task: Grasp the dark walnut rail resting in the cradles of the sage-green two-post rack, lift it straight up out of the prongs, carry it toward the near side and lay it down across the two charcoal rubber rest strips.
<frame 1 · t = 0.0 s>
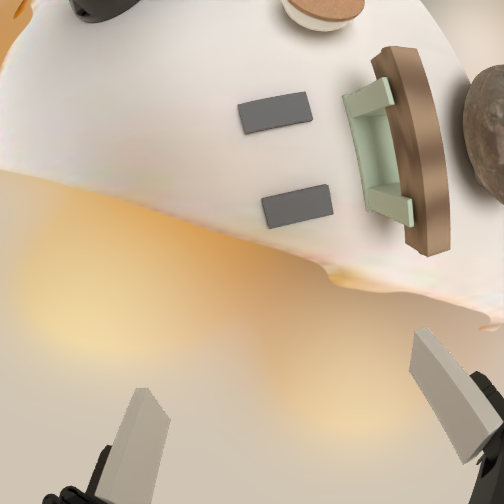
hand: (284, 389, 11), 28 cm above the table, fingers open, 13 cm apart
rests: (286, 158, 35), on the table
rail: (406, 149, 25), point 9 cm above the table, touching rack
rack: (374, 150, 34), on the table
lidded jar: (312, 15, 27), on the table
bowl: (481, 135, 32), on the table
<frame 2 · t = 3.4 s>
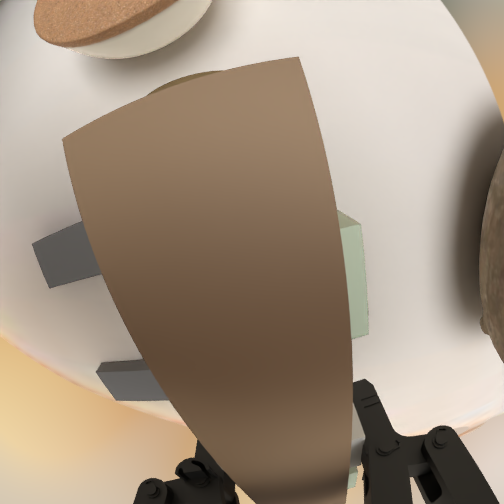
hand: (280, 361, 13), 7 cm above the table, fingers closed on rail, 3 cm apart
rests: (115, 319, 20), on the table
rail: (285, 394, 11), point 9 cm above the table, touching gripper, rack
rack: (272, 301, 20), on the table
lidded jar: (155, 17, 13), on the table
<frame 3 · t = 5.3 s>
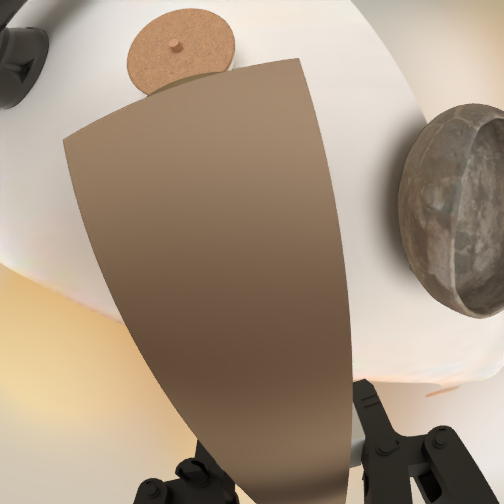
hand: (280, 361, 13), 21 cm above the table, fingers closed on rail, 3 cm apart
rail: (285, 394, 11), point 23 cm above the table, touching gripper
lidded jar: (193, 72, 27), on the table
bowl: (438, 196, 31), on the table
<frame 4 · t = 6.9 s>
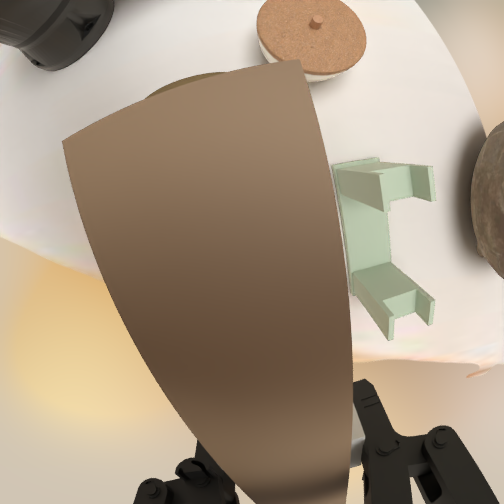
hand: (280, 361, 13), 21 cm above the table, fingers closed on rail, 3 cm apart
rail: (285, 395, 11), point 23 cm above the table, touching gripper
rack: (365, 228, 32), on the table
lidded jar: (300, 53, 25), on the table
bowl: (490, 191, 30), on the table
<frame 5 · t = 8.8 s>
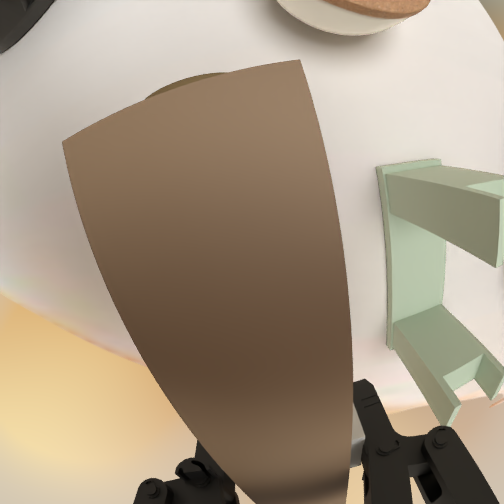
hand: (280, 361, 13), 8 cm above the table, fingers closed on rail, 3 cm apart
rail: (285, 395, 11), point 11 cm above the table, touching gripper
rack: (415, 260, 21), on the table
lidded jar: (324, 3, 14), on the table
when the fingers open (1 cm above the table, at t = 10.4 s): rail drops 2 cm, resting on rests.
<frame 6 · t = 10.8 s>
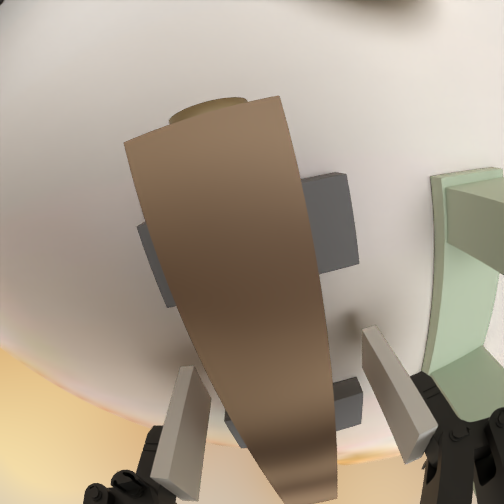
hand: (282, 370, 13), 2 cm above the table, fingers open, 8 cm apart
rests: (278, 345, 15), on the table
rail: (280, 362, 13), point 1 cm above the table, touching rests
rack: (462, 298, 14), on the table
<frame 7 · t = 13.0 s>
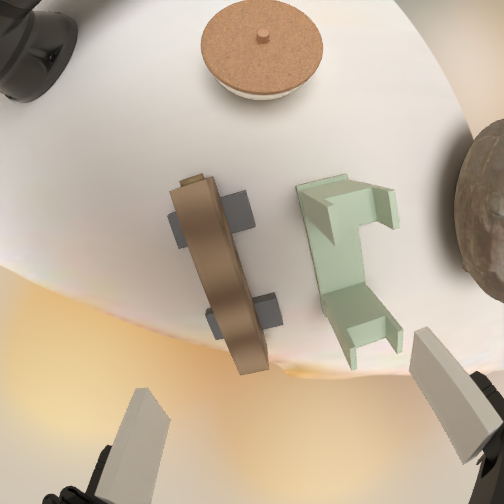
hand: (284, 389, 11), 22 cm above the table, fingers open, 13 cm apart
rests: (229, 269, 33), on the table
rail: (228, 274, 31), point 1 cm above the table, touching rests
rack: (335, 248, 32), on the table
lidded jar: (259, 68, 25), on the table
bowl: (478, 198, 30), on the table
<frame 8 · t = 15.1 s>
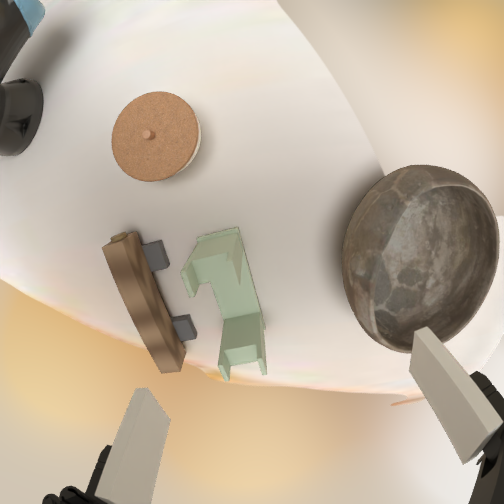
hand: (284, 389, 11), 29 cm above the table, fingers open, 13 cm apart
rests: (154, 295, 42), on the table
rail: (151, 300, 40), point 1 cm above the table, touching rests
rack: (233, 284, 41), on the table
lidded jar: (170, 140, 34), on the table
bowl: (391, 239, 39), on the table
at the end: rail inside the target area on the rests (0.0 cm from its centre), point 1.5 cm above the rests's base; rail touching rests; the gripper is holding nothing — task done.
